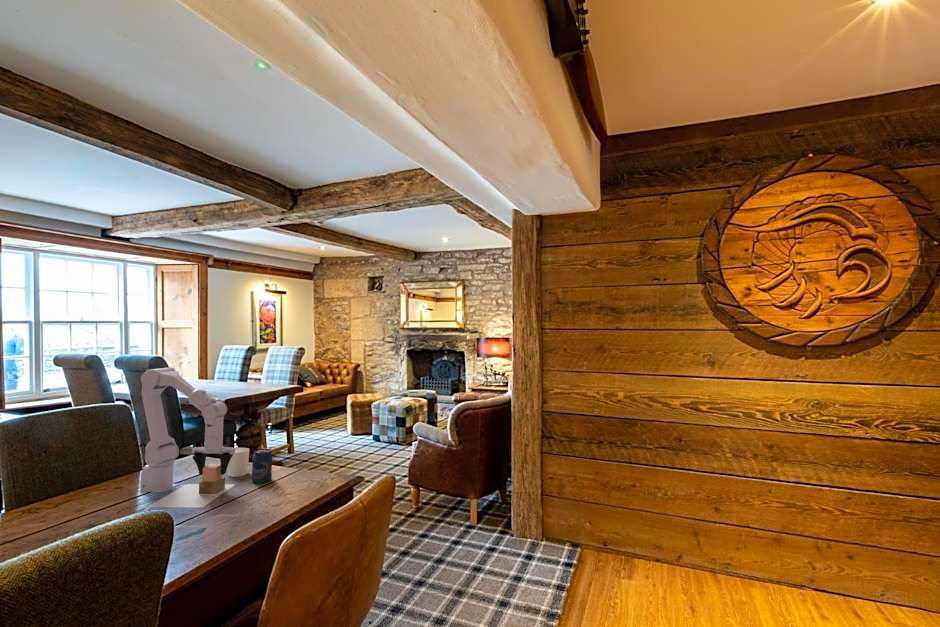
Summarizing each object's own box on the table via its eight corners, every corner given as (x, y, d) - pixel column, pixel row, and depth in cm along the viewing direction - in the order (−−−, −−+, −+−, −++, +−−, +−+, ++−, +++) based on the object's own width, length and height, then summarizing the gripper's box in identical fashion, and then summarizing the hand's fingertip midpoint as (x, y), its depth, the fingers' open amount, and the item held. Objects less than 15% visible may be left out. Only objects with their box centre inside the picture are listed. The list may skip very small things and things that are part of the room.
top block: (202, 481, 160) (202, 467, 160) (209, 477, 165) (209, 463, 165) (215, 481, 160) (215, 467, 160) (221, 477, 165) (222, 463, 165)
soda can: (249, 486, 169) (251, 453, 170) (253, 480, 176) (254, 449, 176) (269, 484, 171) (270, 452, 172) (272, 478, 178) (273, 448, 178)
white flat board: (146, 508, 147) (146, 506, 147) (186, 485, 169) (186, 483, 169) (202, 509, 147) (202, 507, 147) (235, 485, 169) (235, 484, 169)
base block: (198, 493, 159) (199, 482, 159) (208, 487, 165) (208, 476, 165) (215, 494, 159) (216, 482, 160) (224, 488, 165) (225, 477, 166)
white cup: (252, 472, 185) (253, 448, 185) (240, 479, 177) (241, 453, 177) (234, 471, 186) (235, 447, 186) (222, 478, 178) (223, 452, 178)
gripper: (187, 438, 159) (185, 477, 158) (228, 438, 159) (227, 477, 159) (198, 433, 166) (197, 470, 165) (238, 434, 166) (237, 471, 166)
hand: (212, 473), depth 163 cm, fingers open, 7 cm apart
